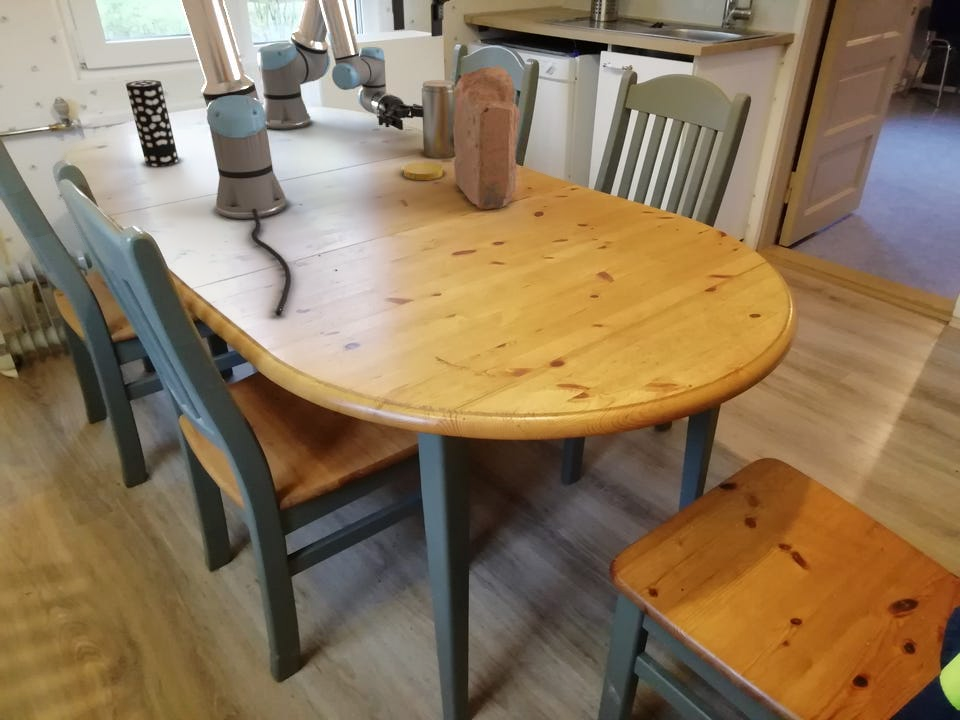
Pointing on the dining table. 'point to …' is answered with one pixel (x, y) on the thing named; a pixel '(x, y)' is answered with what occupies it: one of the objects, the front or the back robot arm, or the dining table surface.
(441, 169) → the lid
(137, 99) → the black white spotted cylinder
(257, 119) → the front robot arm
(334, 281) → the dining table surface
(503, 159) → the stone
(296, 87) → the back robot arm
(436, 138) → the jar
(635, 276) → the dining table surface
